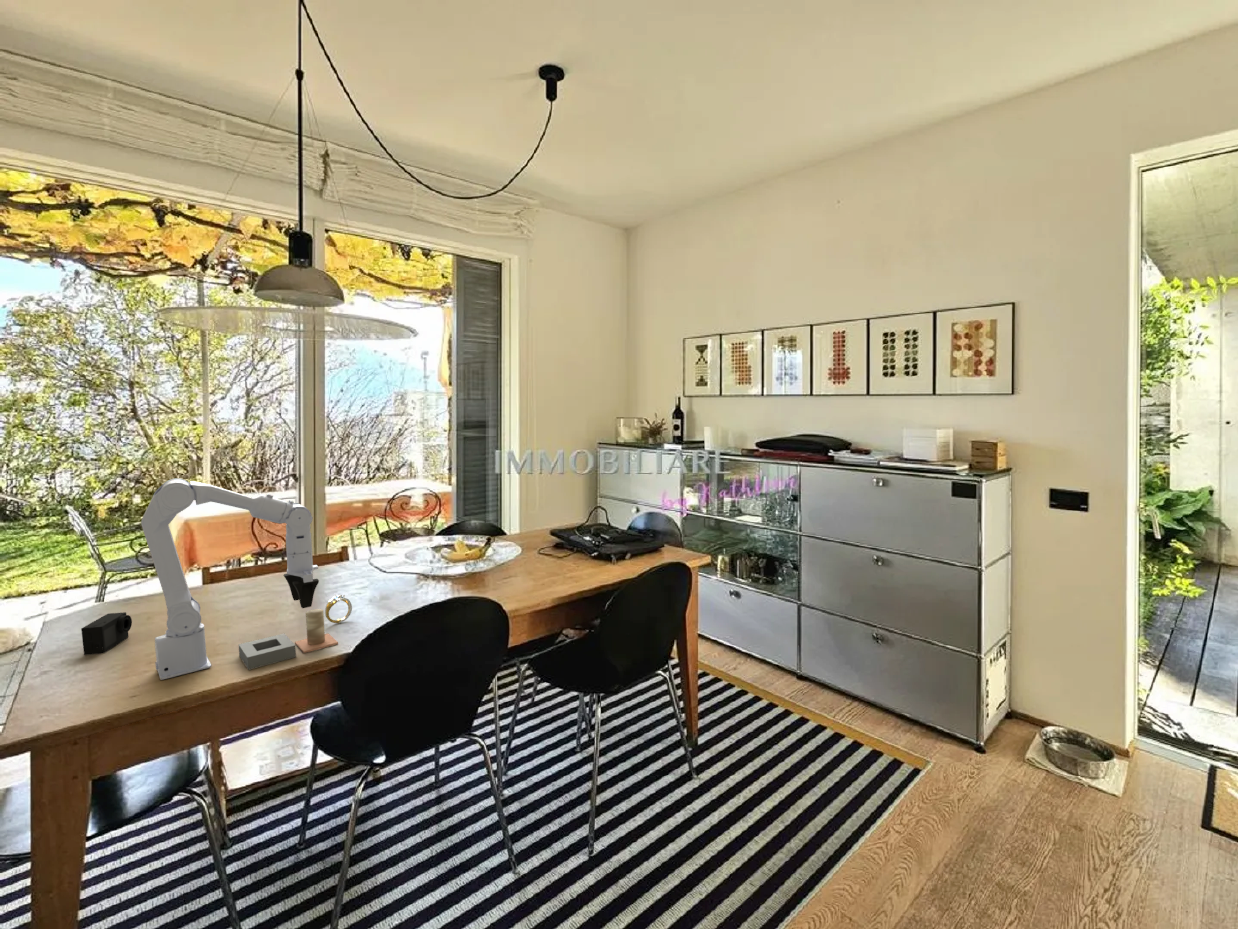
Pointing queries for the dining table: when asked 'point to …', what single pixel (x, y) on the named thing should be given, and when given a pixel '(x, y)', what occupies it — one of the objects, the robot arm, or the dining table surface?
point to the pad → (308, 648)
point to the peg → (315, 627)
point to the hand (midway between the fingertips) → (302, 603)
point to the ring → (335, 599)
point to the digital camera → (105, 633)
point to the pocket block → (267, 651)
